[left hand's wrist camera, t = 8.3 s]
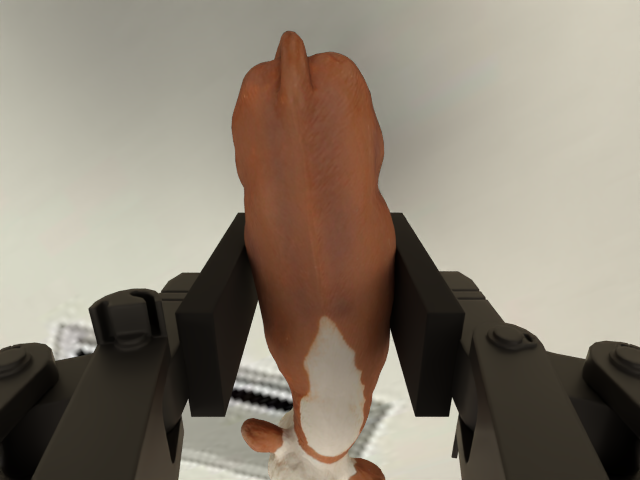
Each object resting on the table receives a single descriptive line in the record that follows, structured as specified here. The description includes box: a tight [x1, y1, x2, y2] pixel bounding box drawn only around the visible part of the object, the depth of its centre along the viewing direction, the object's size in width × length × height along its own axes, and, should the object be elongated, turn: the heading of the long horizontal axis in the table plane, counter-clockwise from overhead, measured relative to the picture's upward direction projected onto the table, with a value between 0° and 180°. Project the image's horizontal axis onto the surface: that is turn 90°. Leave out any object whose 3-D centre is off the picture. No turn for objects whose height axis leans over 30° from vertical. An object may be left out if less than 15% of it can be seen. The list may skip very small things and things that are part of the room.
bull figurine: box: [232, 31, 396, 480], centre depth 13 cm, size 4×13×8 cm, turn 0°
